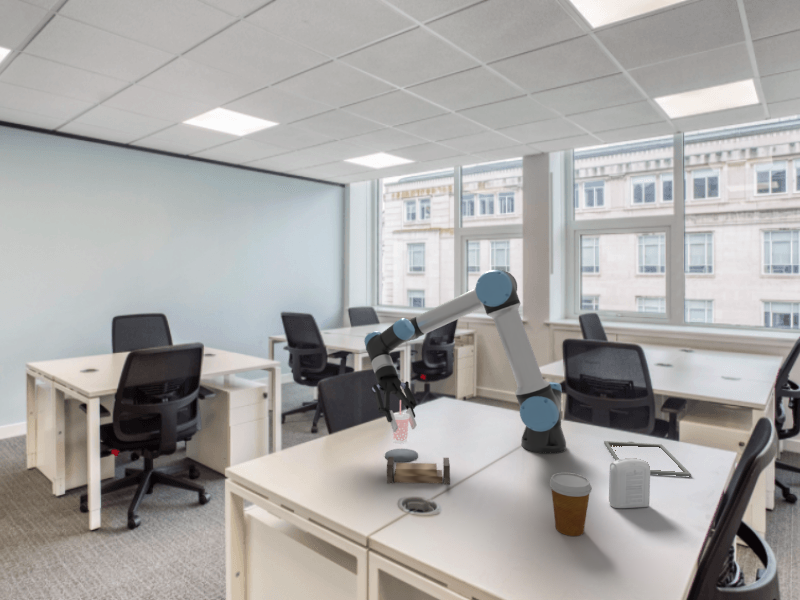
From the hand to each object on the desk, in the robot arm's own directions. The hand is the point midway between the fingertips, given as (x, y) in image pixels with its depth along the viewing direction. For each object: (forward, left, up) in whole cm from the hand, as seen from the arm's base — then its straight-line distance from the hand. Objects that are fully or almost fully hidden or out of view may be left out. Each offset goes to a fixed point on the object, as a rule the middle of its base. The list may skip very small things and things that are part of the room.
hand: (405, 428), depth 161 cm
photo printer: (-66, -10, -10) cm, 68 cm away
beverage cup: (+3, -2, -6) cm, 7 cm away
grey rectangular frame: (-61, -49, -11) cm, 79 cm away
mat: (+3, -2, -10) cm, 11 cm away
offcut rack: (-13, +11, -10) cm, 20 cm away
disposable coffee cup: (-58, +12, -10) cm, 60 cm away
